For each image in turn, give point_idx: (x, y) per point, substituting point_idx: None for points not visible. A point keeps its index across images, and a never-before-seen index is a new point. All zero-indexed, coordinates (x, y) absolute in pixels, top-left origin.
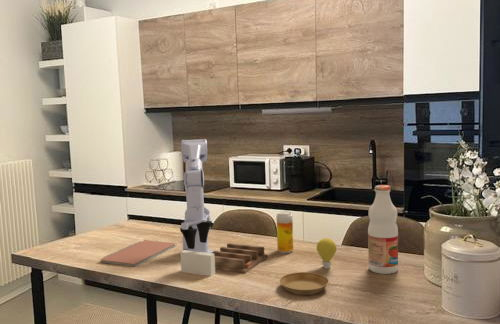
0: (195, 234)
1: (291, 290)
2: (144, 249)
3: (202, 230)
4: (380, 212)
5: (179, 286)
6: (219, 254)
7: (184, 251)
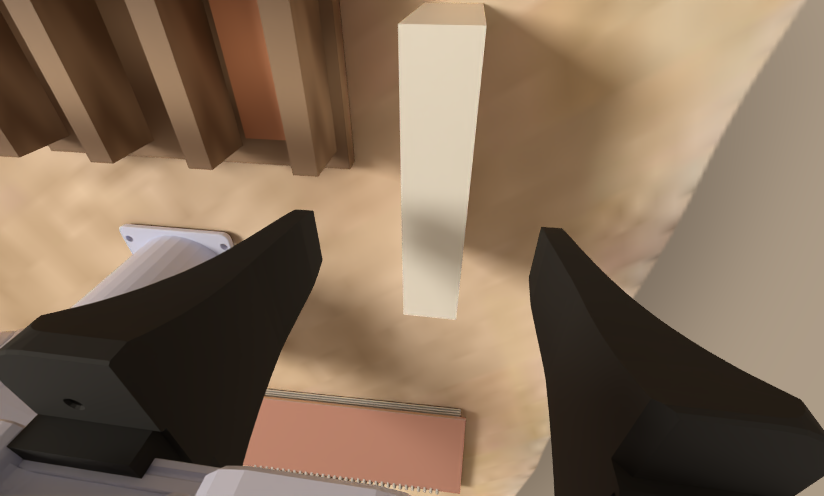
0: (609, 335)
1: None
2: (311, 441)
3: (254, 336)
4: None
5: (725, 125)
6: (201, 105)
7: (432, 303)
